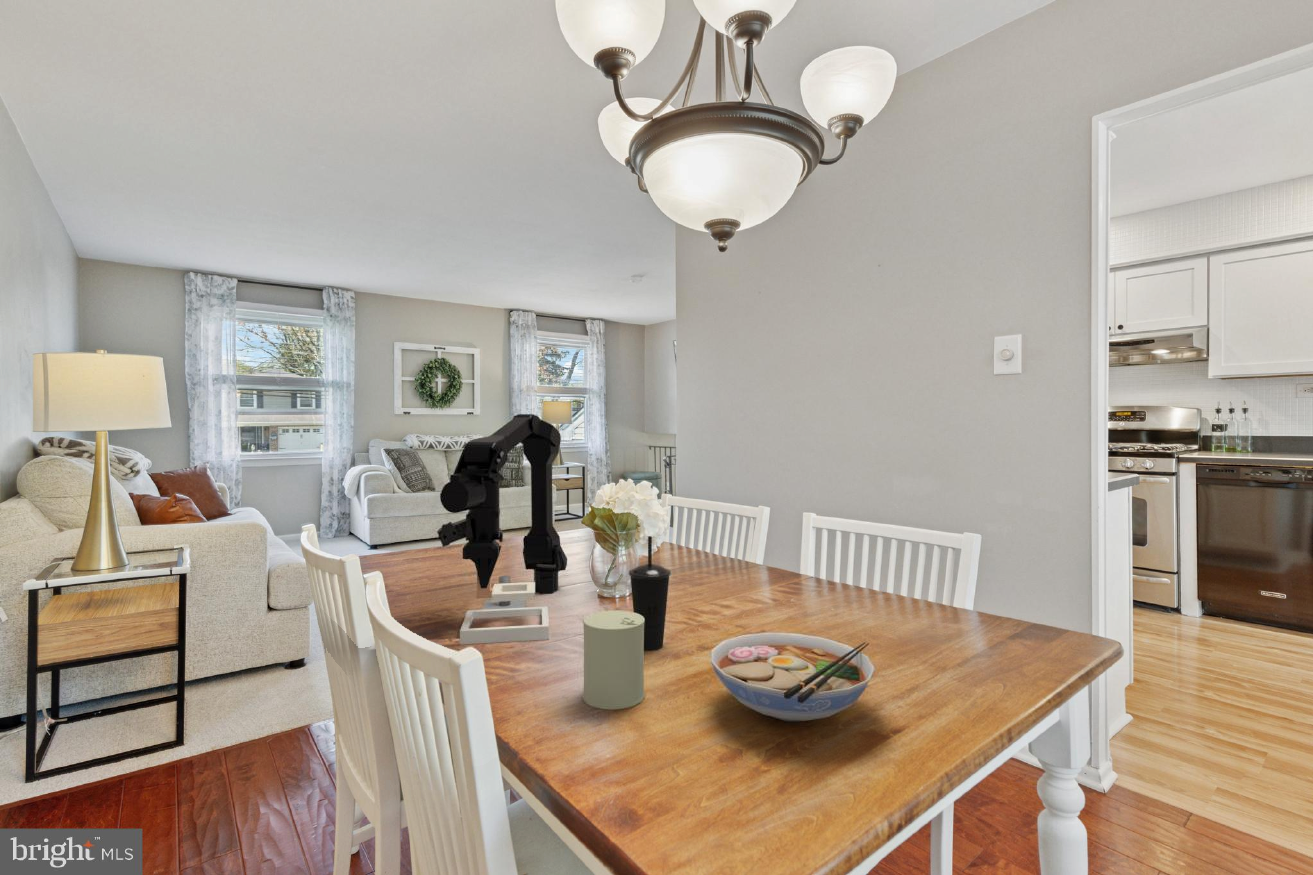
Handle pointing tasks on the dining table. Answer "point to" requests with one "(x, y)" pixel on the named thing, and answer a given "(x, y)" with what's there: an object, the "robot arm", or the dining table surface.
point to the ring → (507, 591)
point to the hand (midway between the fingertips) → (484, 586)
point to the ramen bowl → (792, 674)
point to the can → (613, 659)
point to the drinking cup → (651, 599)
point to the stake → (504, 604)
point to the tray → (504, 632)
